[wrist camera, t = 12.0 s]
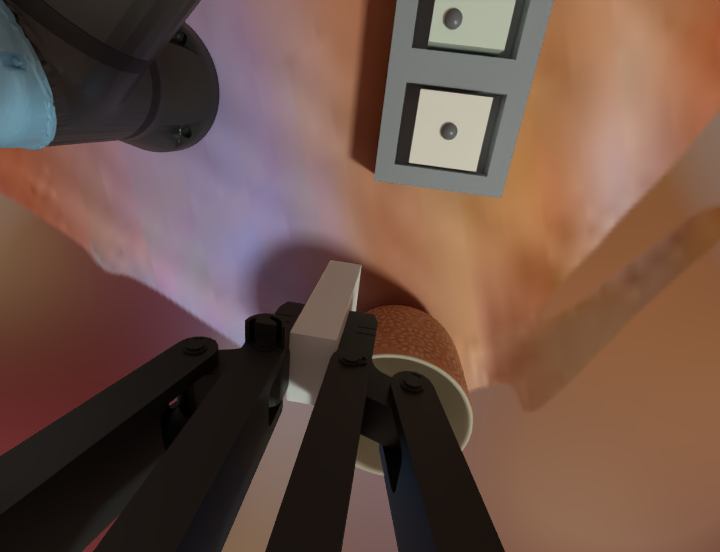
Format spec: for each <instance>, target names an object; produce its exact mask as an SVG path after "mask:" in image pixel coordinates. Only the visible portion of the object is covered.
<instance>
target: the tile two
mask: <svg viewBox="0 0 720 552" xmlns="http://www.w3.org/2000/svg"><path fill="white" fill-rule="evenodd" d="M515 2H516V0H435V1H434V7H433V13H432V19H431V25H430V32H429V38H428V44H427V49H436V50H445V51H453V52H462V53H471V54H480V55H488V56H497V55H498V54H499V53H501V52H502V51H504V49H505V45H506V41H507V36H508V32H509V28H510V24H511V19H512V15H513V11H514V6H515Z"/></svg>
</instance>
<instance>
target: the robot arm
mask: <svg viewBox="0 0 720 552" xmlns="http://www.w3.org/2000/svg"><path fill="white" fill-rule="evenodd" d="M200 1H201V0H0V148H25V149H29V150H38V149H42V148H45V147H49V146H59V145H70V144H81V143H92V142H104V141H115V140H119V141H122V142H125V143H127V144H130V145H132V146H135V147H138V148H140V149H143V150H147V151H152V152H171V151H178V150H183V149H186V148H189V147H191V146H193V145H195V144H196V143H198V142H199V141H200V140H201V139H202V138H203V137H204V136H205V135H206V134H207V133H208V131H209V130H210V128H211V126H212V125H213V122H214V120H215V117H216V114H217V110H218V105H219V83H218V77H217V72H216V69H215V66H214V63H213V60H212V58H211V56H210V53H209V52H208V50H207V48H206V46H205V45H204V43H203V42H202V40H201V39H200V37H199V36H198V35H197V34H196V33H195V31H194V30H193V29H192V28H191V27H190V26H189V25H187V24H186V23H185V20H186V19H187V18H188V16H189V15H190V14H191V13H192V11H193V10H194V9H195V7H196V6H197V5H198V3H199V2H200ZM361 266H362V265H360V264H354V263H347V262H341V261H334V260H330V262H329V263H328V265H327V267H326V269H325V271H324V272H323V274H322V276H321V278H320V280H319V281H318V283H317V285H316V287H315V288H314V290H313V292H312V294H311V296H310V297H309V299H308V301H307V303H306V304H301V303H295V302H287V303H285V304H283V305H282V306H280V307H279V308H278V310H277V311H276V313H275V314H265V313H264V314H256V315H254V316H251V317H249V318H248V319H246V320H245V343H244V345H243V346H242V347H241V348H239V349H230V350H218V344H217V342H216V341H215V340H213V339H211V338H207V337H192V338H187V339H185V340H182V341H181V342H179V343H177V344H175V345H174V346H172V347H171V348H169V349H167V350H166V351H164V352H163V353H161V354H160V355H158V356H156V357H155V358H153V359H152V360H150V361H149V362H147V363H146V364H144V365H142V366H141V367H139V368H138V369H136V370H135V371H133V372H131V373H130V374H128V375H127V376H125V377H124V378H122V379H120V380H119V381H117V382H116V383H114V384H113V385H111V386H109V387H108V388H107V389H105V390H103V391H102V392H100V393H99V394H97V395H95V396H94V397H92V398H91V399H89V400H88V401H86V402H84V403H83V404H81V405H80V406H78V407H77V408H75V409H73V410H72V411H71V412H69V413H67V414H66V415H64V416H63V417H61V418H59V419H58V420H56V421H55V422H53V423H52V424H50V425H48V426H47V427H45V428H44V429H42V430H41V431H39V432H37V433H36V434H34V435H33V436H31V437H30V438H28V439H26V440H25V441H23V442H22V443H20V444H19V445H17V446H16V447H14V448H12V449H11V450H9V451H8V452H6V453H5V454H3V455H1V456H0V552H82V551H83V550H84V549H85V548H86V547H87V546H88V545H89V544H90V543H91V542H92V541H93V540H94V539H95V538H96V537H97V536H98V535H99V534H100V533H101V532H102V531H103V530H104V529H105V528H106V527H107V526H108V525H109V524H110V523H111V522H112V521H113V520H114V519H115V518H117V516H119V517H118V518H117V520H116V521H115V522H114V524H113V525H112V526H111V528H110V529H109V531H108V532H107V533H106V535H105V536H104V537H103V539H102V540H101V542H100V543H99V544H98V546H97V547H96V549H95V550H94V551H93V552H221V551H222V549H223V546H224V544H225V542H226V539H227V537H228V535H229V532H230V530H231V528H232V525H233V523H234V521H235V518H236V516H237V514H238V512H239V509H240V507H241V505H242V502H243V500H244V498H245V495H246V493H247V491H248V488H249V486H250V484H251V481H252V479H253V477H254V475H255V472H256V470H257V468H258V465H259V462H260V461H261V458H262V456H263V454H264V451H265V449H266V447H267V444H268V442H269V440H270V438H271V435H272V433H273V431H274V428H275V426H276V424H277V421H278V419H279V417H280V414H281V412H282V407H283V397H284V395H285V393H286V390H287V400H288V401H294V402H300V403H305V404H311V405H314V409H313V411H312V414H311V417H310V420H309V423H308V426H307V430H306V432H305V435H304V438H303V441H302V444H301V447H300V450H299V453H298V456H297V459H296V462H295V465H294V468H293V471H292V474H291V477H290V480H289V483H288V486H287V489H286V492H285V495H284V498H283V501H282V503H281V506H280V509H279V513H278V515H277V518H276V521H275V525H274V527H273V530H272V533H271V536H270V539H269V542H268V545H267V548H266V551H265V552H341V551H342V545H343V538H344V532H345V526H346V519H347V514H348V507H349V501H350V495H351V489H352V483H353V476H354V470H355V464H356V458H357V452H358V445H359V440H360V434H361V435H363V436H365V437H367V438H369V439H371V440H373V441H375V442H377V443H379V452H380V458H381V463H382V468H383V473H384V478H385V483H386V489H387V494H388V499H389V505H390V509H391V515H392V520H393V525H394V530H395V536H396V541H397V546H398V551H399V552H505V551H504V548H503V546H502V544H501V541H500V539H499V537H498V534H497V532H496V530H495V527H494V525H493V523H492V520H491V518H490V516H489V514H488V511H487V509H486V507H485V504H484V502H483V499H482V497H481V495H480V493H479V490H478V488H477V486H476V483H475V481H474V479H473V476H472V474H471V472H470V469H469V467H468V465H467V462H466V460H465V458H464V455H463V453H462V451H461V448H460V446H459V444H458V441H457V439H456V437H455V434H454V432H453V430H452V427H451V425H450V423H449V420H448V418H447V416H446V413H445V411H444V409H443V406H442V404H441V402H440V400H439V397H438V395H437V393H436V390H435V388H434V386H433V384H432V383H431V381H430V380H429V379H428V378H427V377H425V376H424V375H422V374H419V373H417V372H412V371H401V372H398V373H396V374H394V375H393V377H390V376H388V375H386V374H384V373H382V372H381V371H379V370H378V369H377V368H376V367H375V366H374V364H373V361H372V357H373V350H374V344H375V338H376V331H377V325H378V321H377V319H376V317H375V316H374V314H368V313H362V312H356V306H357V298H358V290H359V282H360V274H361ZM176 397H177V401H176V402H175V403H174V404H172V405H170V406H169V403H170V402H171V401H172V400H174V399H175V398H176Z"/></svg>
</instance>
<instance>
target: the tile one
mask: <svg viewBox="0 0 720 552" xmlns="http://www.w3.org/2000/svg"><path fill="white" fill-rule="evenodd" d="M492 101H493V98H492V97H484V96H476V95H467V94H459V93H451V92H443V91H435V90H426V89H421V90H420V93H419V100H418V106H417V112H416V118H415V124H414V131H413V137H412V143H411V149H410V155H409V163H415V164H422V165H430V166H437V167H444V168H452V169H459V170H467V171H474V172H476V169H477V165H478V161H479V156H480V152H481V148H482V144H483V139H484V135H485V131H486V126H487V122H488V118H489V114H490V109H491V105H492Z"/></svg>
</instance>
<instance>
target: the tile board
mask: <svg viewBox="0 0 720 552" xmlns="http://www.w3.org/2000/svg"><path fill="white" fill-rule="evenodd" d="M434 1H435V0H397V4H396V12H395V19H394V27H393V35H392V43H391V50H390V58H389V66H388V74H387V81H386V89H385V97H384V105H383V113H382V120H381V128H380V136H379V144H378V151H377V159H376V167H375V175H374V181H382V182H389V183H396V184H403V185H410V186H418V187H425V188H432V189H439V190H446V191H453V192H461V193H468V194H475V195H482V196H489V197H497V198H501V197H502V193H503V189H504V185H505V182H506V178H507V174H508V170H509V167H510V163H511V159H512V155H513V152H514V148H515V144H516V140H517V137H518V133H519V129H520V125H521V122H522V118H523V114H524V110H525V107H526V103H527V99H528V95H529V92H530V88H531V84H532V80H533V76H534V73H535V69H536V65H537V61H538V58H539V54H540V50H541V46H542V43H543V39H544V35H545V31H546V28H547V24H548V20H549V16H550V13H551V9H552V5H553V1H554V0H516V2H515V6H514V11H513V15H512V19H511V24H510V28H509V32H508V36H507V41H506V45H505V49H504V51H502V52H501V53H499V54H498V55H497V56H488V55H480V54H471V53H462V52H453V51H445V50H436V49H427V44H428V38H429V32H430V25H431V19H432V13H433V7H434ZM421 89H426V90H435V91H443V92H451V93H459V94H467V95H476V96H484V97H492V98H493V101H492V105H491V109H490V114H489V118H488V122H487V126H486V131H485V135H484V139H483V144H482V148H481V152H480V156H479V161H478V165H477V169H476V172H474V171H467V170H459V169H452V168H444V167H437V166H430V165H422V164H415V163H409V155H410V149H411V143H412V137H413V131H414V124H415V118H416V112H417V106H418V100H419V93H420V90H421Z"/></svg>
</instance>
